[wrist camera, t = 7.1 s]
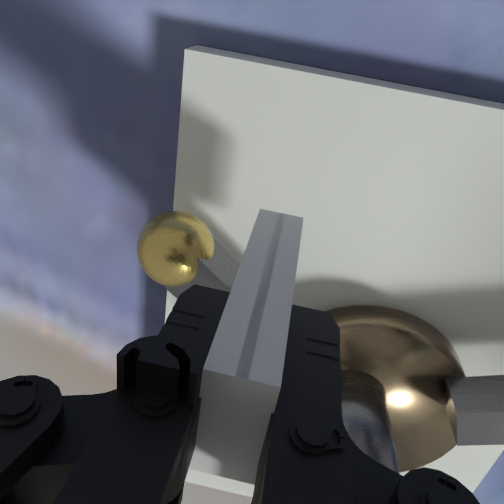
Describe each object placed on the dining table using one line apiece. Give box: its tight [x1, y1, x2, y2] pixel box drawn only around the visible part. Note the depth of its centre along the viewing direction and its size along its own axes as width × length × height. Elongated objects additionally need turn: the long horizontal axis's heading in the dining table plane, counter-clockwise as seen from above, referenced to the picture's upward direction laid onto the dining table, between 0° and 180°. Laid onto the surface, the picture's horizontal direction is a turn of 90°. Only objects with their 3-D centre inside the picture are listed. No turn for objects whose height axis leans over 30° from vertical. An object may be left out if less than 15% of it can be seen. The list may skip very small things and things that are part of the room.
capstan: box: [137, 211, 504, 473], centre depth 15 cm, size 16×18×6 cm
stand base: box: [165, 45, 504, 497], centre depth 15 cm, size 22×16×11 cm
